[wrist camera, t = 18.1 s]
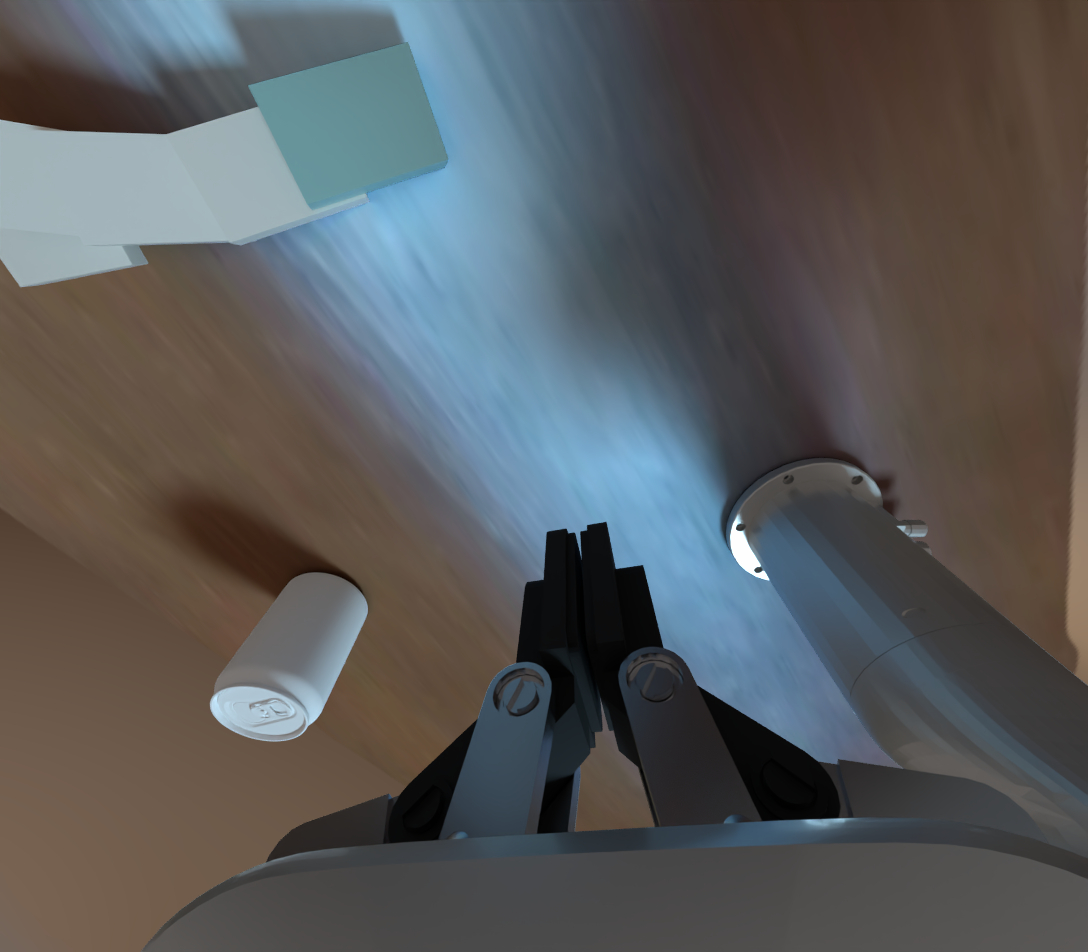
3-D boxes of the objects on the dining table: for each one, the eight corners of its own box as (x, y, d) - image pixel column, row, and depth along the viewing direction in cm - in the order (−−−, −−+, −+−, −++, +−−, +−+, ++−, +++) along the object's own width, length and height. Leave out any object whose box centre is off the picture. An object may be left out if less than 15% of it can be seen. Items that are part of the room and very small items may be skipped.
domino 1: (107, 137, 23) (-109, 101, 20) (135, 242, 25) (-58, 222, 22) (124, 145, 25) (-76, 112, 22) (148, 243, 27) (-31, 224, 24)
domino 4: (319, 87, 22) (165, 134, 21) (367, 196, 25) (229, 242, 24) (325, 101, 24) (182, 144, 23) (369, 202, 26) (240, 245, 25)
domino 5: (407, 41, 21) (247, 85, 20) (448, 159, 24) (307, 204, 22) (406, 59, 23) (257, 100, 22) (444, 167, 25) (312, 210, 24)
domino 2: (216, 135, 23) (28, 129, 21) (250, 240, 26) (83, 245, 23) (226, 143, 25) (51, 138, 22) (256, 241, 27) (100, 246, 25)
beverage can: (271, 576, 41) (178, 691, 31) (346, 560, 40) (277, 674, 30) (314, 631, 45) (244, 750, 35) (383, 618, 44) (333, 737, 34)
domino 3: (77, 169, 24) (-44, 196, 25) (132, 264, 27) (20, 287, 28) (105, 173, 26) (-10, 198, 27) (155, 263, 28) (48, 284, 29)
